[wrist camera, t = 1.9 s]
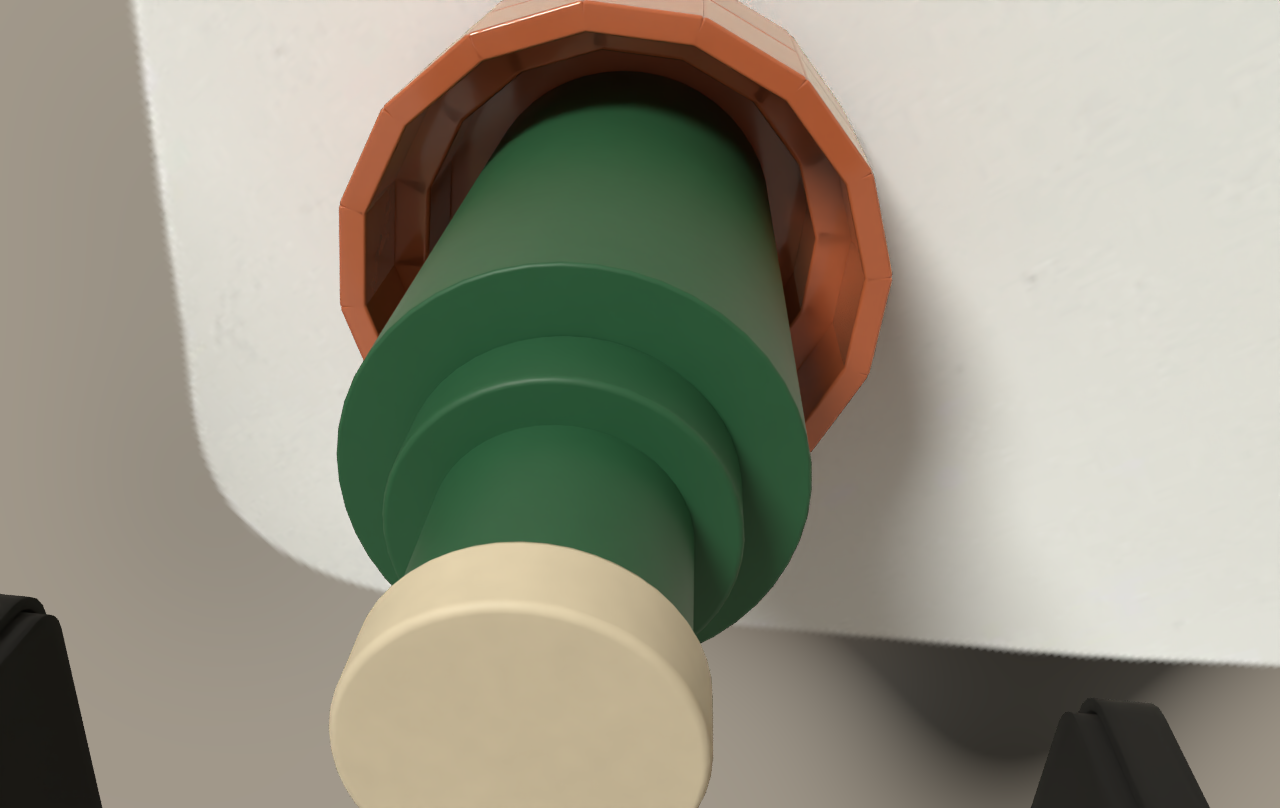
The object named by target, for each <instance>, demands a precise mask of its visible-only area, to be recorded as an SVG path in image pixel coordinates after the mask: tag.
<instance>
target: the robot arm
mask: <svg viewBox="0 0 1280 808" xmlns="http://www.w3.org/2000/svg"><path fill="white" fill-rule="evenodd" d="M0 808H102V805H101V800H100V796H99V792H98V787H97V783H96V778H95V774H94V770H93V765H92V761H91V756H90V752H89V748H88V743H87V739H86V734H85V730H84V726H83V721H82V717H81V712H80V708H79V704H78V699H77V695H76V691H75V686H74V682H73V677H72V673H71V668H70V664H69V660H68V655H67V651H66V646H65V642H64V638H63V633H62V629H61V626H60V623H59V620H57V618H56V617H55V616H52V615H47V614H46V612H45V610H44V607H43V605H42V604H41V603H40V602H39V601H38V600H37V599H36V598H32V597H25V596H14V595H4V594H0ZM1031 808H1210V807H1209V805H1208V803H1207V801H1206V799H1205V797H1204V795H1203V793H1202V791H1201V789H1200V787H1199V785H1198V783H1197V781H1196V779H1195V777H1194V775H1193V773H1192V771H1191V769H1190V767H1189V765H1188V763H1187V761H1186V759H1185V757H1184V755H1183V753H1182V751H1181V749H1180V747H1179V745H1178V743H1177V741H1176V739H1175V737H1174V735H1173V733H1172V731H1171V729H1170V727H1169V725H1168V723H1167V721H1166V719H1165V717H1164V715H1163V714H1162V712H1161V711H1160V709H1159V708H1158V707H1157V706H1155V705H1154V704H1151V703H1140V702H1130V701H1119V700H1109V699H1098V698H1090V699H1087V700H1086V701H1085V702H1084V703H1083V704H1082V706H1081V708H1080V711H1079V712H1078V713H1075V712H1065V713H1064V714H1063V715H1062V717H1061V719H1060V721H1059V724H1058V727H1057V730H1056V733H1055V736H1054V739H1053V742H1052V745H1051V748H1050V751H1049V754H1048V757H1047V761H1046V763H1045V766H1044V770H1043V773H1042V776H1041V779H1040V782H1039V785H1038V788H1037V791H1036V794H1035V797H1034V800H1033V804H1032V806H1031Z"/></svg>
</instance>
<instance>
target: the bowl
mask: <svg viewBox="0 0 1280 808" xmlns="http://www.w3.org/2000/svg"><path fill="white" fill-rule="evenodd" d="M612 71H634V72H645V73H650V74H655V75H660V76H664V77H667V78H670V79H672V80H675V81H678V82H681V83H683V84H685V85H687V86H689V87H691V88H693V89H695V90H697V91H699V92H700V93H702V94H703V95H705V96H706V97H708V98H709V99H711V100H712V101H714V102H715V103H716V104H717V105H718V106H719V107H721V108H722V109H723V110H724V111H725V112H726V113H727V114H728V115H729V116H730V117H731V118H732V119H733V120H734V121H735V123H736V124H737V125H738V126H739V127H740V129H741V130H742V131H743V133H744V134H745V136H746V137H747V139H748V140H749V142H750V144H751V145H752V147H753V149H754V151H755V153H756V156H757V158H758V160H759V162H760V165H761V168H762V171H763V174H764V178H765V181H766V187H767V193H768V199H769V205H770V211H771V217H772V223H773V230H774V236H775V242H776V248H777V254H778V260H779V266H780V272H781V279H782V285H783V291H784V297H785V303H786V309H787V315H788V321H789V327H790V334H791V340H792V346H793V352H794V358H795V364H796V370H797V376H798V382H799V389H800V395H801V401H802V407H803V413H804V419H805V425H806V431H807V437H808V444H809V450H810V452H812V450H813V449H814V448H815V446H816V445H817V444H818V442H819V441H820V440H821V438H822V437H823V436H824V434H825V433H826V432H827V430H828V429H829V428H830V426H831V425H832V424H833V422H834V421H835V420H836V418H837V417H838V416H839V414H840V413H841V412H842V411H843V409H844V408H845V407H846V405H847V404H848V403H849V401H850V400H851V399H852V397H853V396H854V395H855V393H856V392H857V391H858V389H859V388H860V387H861V385H862V384H863V383H864V381H865V380H866V379H867V376H868V374H869V373H870V370H871V366H872V361H873V357H874V353H875V349H876V345H877V341H878V337H879V333H880V329H881V325H882V320H883V316H884V312H885V308H886V304H887V300H888V296H889V292H890V288H891V284H892V269H891V263H890V258H889V253H888V247H887V242H886V237H885V231H884V226H883V221H882V215H881V210H880V204H879V199H878V194H877V188H876V183H875V178H874V174H873V172H872V169H871V167H870V165H869V163H868V161H867V158H866V156H865V154H864V152H863V150H862V148H861V146H860V143H859V141H858V139H857V137H856V135H855V133H854V131H853V129H852V127H851V125H850V122H849V120H848V118H847V116H846V114H845V112H844V110H843V108H842V107H841V105H840V104H839V102H838V101H837V100H836V98H835V97H834V95H833V94H832V92H831V91H830V89H829V88H828V87H827V85H826V84H825V82H824V81H823V79H822V78H821V77H820V75H819V74H818V72H817V71H816V69H815V68H814V66H813V65H812V64H811V62H810V61H809V59H808V58H807V56H806V55H805V53H804V52H803V51H802V49H801V48H800V46H799V45H798V43H797V42H796V41H795V39H794V38H793V37H792V36H791V35H789V33H788V31H786V30H785V29H783V28H781V27H780V26H778V25H777V24H775V23H773V22H772V21H770V20H768V19H767V18H765V17H763V16H762V15H760V14H759V13H757V12H755V11H754V10H752V9H750V8H749V7H747V6H745V5H744V4H742V3H741V2H739V1H737V0H502V1H501V2H500V3H499V4H498V5H497V6H495V7H494V8H493V9H492V10H491V11H490V12H488V13H487V14H486V15H485V16H484V17H483V18H482V19H480V20H479V21H478V22H477V23H476V24H475V25H474V26H472V27H471V28H470V29H469V30H468V31H467V32H465V33H464V34H463V35H462V36H461V37H460V38H459V39H457V40H456V41H455V42H454V43H453V44H452V45H450V46H449V47H448V48H447V49H446V50H445V51H444V52H442V53H441V54H440V55H439V56H438V57H437V58H436V59H435V60H433V61H432V62H431V63H430V64H429V65H428V66H427V67H426V68H425V69H424V70H422V71H421V72H420V73H419V74H418V75H417V76H416V77H415V78H414V79H412V80H411V81H410V82H409V83H408V84H407V85H406V86H405V87H404V88H403V89H401V90H400V91H399V92H398V93H397V94H396V95H395V96H394V97H393V98H392V99H390V100H389V101H388V102H387V103H386V104H385V105H384V108H382V109H381V111H380V113H379V115H378V117H377V120H376V122H375V124H374V126H373V129H372V131H371V133H370V135H369V138H368V140H367V142H366V144H365V147H364V149H363V151H362V153H361V156H360V158H359V160H358V162H357V165H356V167H355V169H354V171H353V174H352V176H351V178H350V180H349V183H348V185H347V187H346V190H345V192H344V194H343V196H342V199H341V201H340V206H339V255H340V305H341V306H342V307H341V310H342V312H343V314H344V317H345V319H346V321H347V323H348V326H349V328H350V330H351V333H352V335H353V337H354V339H355V342H356V344H357V346H358V349H359V351H360V353H361V356H362V358H363V360H364V359H365V358H366V356H367V354H368V352H369V351H370V349H371V348H372V346H373V344H374V343H375V341H376V340H377V338H378V336H379V335H380V333H381V332H382V330H383V328H384V327H385V325H386V324H387V322H388V320H389V319H390V317H391V316H392V314H393V312H394V311H395V309H396V308H397V306H398V304H399V303H400V301H401V300H402V298H403V296H404V295H405V293H406V292H407V290H408V288H409V287H410V285H411V284H412V282H413V280H414V279H415V277H416V276H417V274H418V272H419V271H420V269H421V268H422V266H423V264H424V263H425V261H426V260H427V258H428V256H429V255H430V253H431V252H432V250H433V248H434V247H435V245H436V244H437V242H438V240H439V239H440V237H441V236H442V234H443V232H444V231H445V229H446V228H447V226H448V224H449V223H450V221H451V220H452V218H453V216H454V215H455V213H456V212H457V210H458V208H459V207H460V205H461V204H462V202H463V200H464V199H465V197H466V196H467V194H468V192H469V191H470V189H471V188H472V186H473V184H474V183H475V181H476V180H477V178H478V176H479V175H480V173H481V171H482V170H483V168H484V167H485V165H486V163H487V162H488V160H489V159H490V157H491V155H492V154H493V152H494V151H495V149H496V147H497V146H498V144H499V143H500V141H501V139H502V138H503V136H504V135H505V133H506V131H507V130H508V129H509V127H510V126H511V125H512V124H513V122H514V121H515V120H516V119H517V117H518V116H519V115H520V114H521V113H522V112H523V111H524V110H525V109H526V108H528V107H529V106H530V105H531V104H532V103H533V102H534V101H536V100H537V99H539V98H540V97H541V96H543V95H544V94H546V93H547V92H548V91H550V90H552V89H554V88H556V87H558V86H560V85H562V84H564V83H566V82H569V81H572V80H574V79H577V78H580V77H583V76H587V75H592V74H596V73H601V72H612Z"/></svg>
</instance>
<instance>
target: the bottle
mask: <svg viewBox="0 0 1280 808" xmlns="http://www.w3.org/2000/svg"><path fill="white" fill-rule="evenodd" d="M337 463H338V474H339V482H340V487H341V491H342V495H343V499H344V503H345V507H346V510H347V513H348V515H349V518H350V520H351V523H352V525H353V528H354V530H355V533H356V535H357V536H358V538H359V540H360V542H361V544H362V545H363V547H364V549H365V551H366V552H367V554H368V556H369V557H370V559H371V560H372V561H373V563H374V564H375V565H376V567H377V568H378V569H379V571H380V572H381V574H382V575H383V576H384V578H385V579H386V580H387V581H388V582H389V583H390V584H391V585H392V586H391V587H390V588H389V589H388V590H387V591H386V592H385V593H384V594H383V595H382V596H381V597H380V599H379V600H378V601H377V602H376V603H375V605H374V606H373V608H372V609H371V611H370V612H369V614H368V615H367V617H366V619H365V621H364V623H363V625H362V628H361V630H360V632H359V634H358V637H357V639H356V641H355V644H354V646H353V648H352V651H351V653H350V656H349V658H348V660H347V663H346V665H345V667H344V670H343V672H342V675H341V677H340V679H339V682H338V684H337V686H336V689H335V692H334V696H333V700H332V703H331V707H330V717H329V733H330V742H331V751H332V754H333V758H334V762H335V765H336V769H337V771H338V773H339V775H340V778H341V780H342V782H343V784H344V786H345V788H346V790H347V791H348V793H349V794H350V796H351V797H352V799H353V800H354V802H355V803H356V805H357V806H358V807H359V808H698V807H699V805H700V803H701V801H702V799H703V797H704V795H705V793H706V790H707V787H708V784H709V780H710V777H711V771H712V762H713V699H712V698H713V696H712V680H711V674H710V670H709V666H708V662H707V659H706V656H705V654H704V651H703V649H702V647H701V644H700V643H702V642H704V641H706V640H708V639H710V638H712V637H714V636H715V635H717V634H719V633H720V632H722V631H723V630H725V629H726V628H728V627H729V626H731V625H733V624H734V623H736V622H737V621H738V620H739V619H740V618H742V617H743V616H744V615H745V614H746V613H747V612H749V611H750V610H751V609H752V608H753V607H755V606H756V605H757V604H758V602H759V601H760V600H761V599H762V598H763V597H764V596H765V595H766V594H767V592H768V591H769V590H770V589H771V588H772V587H773V586H774V584H775V583H776V581H777V580H778V578H779V577H780V575H781V574H782V572H783V571H784V570H785V568H786V567H787V565H788V564H789V562H790V560H791V558H792V556H793V553H794V551H795V549H796V547H797V545H798V543H799V541H800V538H801V535H802V532H803V529H804V526H805V522H806V519H807V516H808V510H809V504H810V497H811V490H812V462H811V456H810V450H809V444H808V437H807V431H806V425H805V419H804V413H803V407H802V401H801V395H800V389H799V382H798V376H797V370H796V364H795V358H794V352H793V346H792V340H791V334H790V327H789V321H788V315H787V309H786V303H785V297H784V291H783V285H782V279H781V272H780V266H779V260H778V254H777V248H776V242H775V236H774V230H773V223H772V217H771V211H770V205H769V199H768V193H767V187H766V181H765V178H764V174H763V171H762V168H761V165H760V162H759V160H758V158H757V156H756V153H755V151H754V149H753V147H752V145H751V144H750V142H749V140H748V139H747V137H746V136H745V134H744V133H743V131H742V130H741V129H740V127H739V126H738V125H737V124H736V123H735V121H734V120H733V119H732V118H731V117H730V116H729V115H728V114H727V113H726V112H725V111H724V110H723V109H722V108H721V107H719V106H718V105H717V104H716V103H715V102H714V101H712V100H711V99H709V98H708V97H706V96H705V95H703V94H702V93H700V92H699V91H697V90H695V89H693V88H691V87H689V86H687V85H685V84H683V83H681V82H678V81H675V80H672V79H670V78H667V77H664V76H660V75H655V74H650V73H645V72H634V71H612V72H601V73H596V74H592V75H587V76H583V77H580V78H577V79H574V80H572V81H569V82H566V83H564V84H562V85H560V86H558V87H556V88H554V89H552V90H550V91H548V92H547V93H546V94H544V95H543V96H541V97H540V98H539V99H537V100H536V101H534V102H533V103H532V104H531V105H530V106H529V107H528V108H526V109H525V110H524V111H523V112H522V113H521V114H520V115H519V116H518V117H517V119H516V120H515V121H514V122H513V124H512V125H511V126H510V127H509V129H508V130H507V131H506V133H505V135H504V136H503V138H502V139H501V141H500V143H499V144H498V146H497V147H496V149H495V151H494V152H493V154H492V155H491V157H490V159H489V160H488V162H487V163H486V165H485V167H484V168H483V170H482V171H481V173H480V175H479V176H478V178H477V180H476V181H475V183H474V184H473V186H472V188H471V189H470V191H469V192H468V194H467V196H466V197H465V199H464V200H463V202H462V204H461V205H460V207H459V208H458V210H457V212H456V213H455V215H454V216H453V218H452V220H451V221H450V223H449V224H448V226H447V228H446V229H445V231H444V232H443V234H442V236H441V237H440V239H439V240H438V242H437V244H436V245H435V247H434V248H433V250H432V252H431V253H430V255H429V256H428V258H427V260H426V261H425V263H424V264H423V266H422V268H421V269H420V271H419V272H418V274H417V276H416V277H415V279H414V280H413V282H412V284H411V285H410V287H409V288H408V290H407V292H406V293H405V295H404V296H403V298H402V300H401V301H400V303H399V304H398V306H397V308H396V309H395V311H394V312H393V314H392V316H391V317H390V319H389V320H388V322H387V324H386V325H385V327H384V328H383V330H382V332H381V333H380V335H379V336H378V338H377V340H376V341H375V343H374V344H373V346H372V348H371V349H370V351H369V352H368V354H367V356H366V358H365V359H364V361H363V363H362V364H361V366H360V368H359V369H358V371H357V373H356V374H355V376H354V379H353V381H352V384H351V386H350V389H349V391H348V394H347V396H346V399H345V401H344V405H343V410H342V414H341V419H340V423H339V428H338V443H337Z"/></svg>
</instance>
